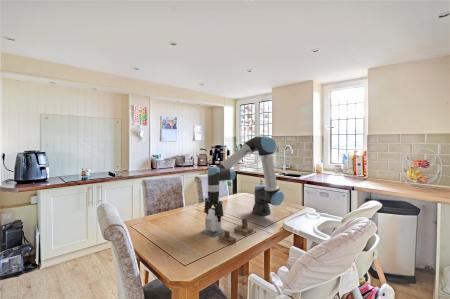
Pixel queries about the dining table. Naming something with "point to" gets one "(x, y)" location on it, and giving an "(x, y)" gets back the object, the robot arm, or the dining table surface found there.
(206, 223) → the container
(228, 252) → the dining table surface
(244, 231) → the pair of wooden stands
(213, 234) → the plate
